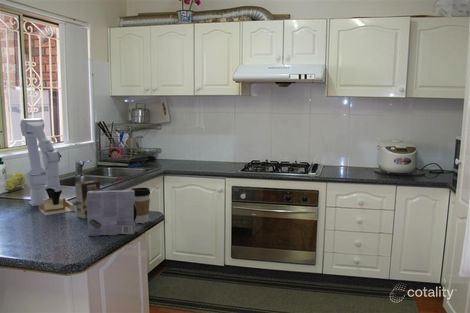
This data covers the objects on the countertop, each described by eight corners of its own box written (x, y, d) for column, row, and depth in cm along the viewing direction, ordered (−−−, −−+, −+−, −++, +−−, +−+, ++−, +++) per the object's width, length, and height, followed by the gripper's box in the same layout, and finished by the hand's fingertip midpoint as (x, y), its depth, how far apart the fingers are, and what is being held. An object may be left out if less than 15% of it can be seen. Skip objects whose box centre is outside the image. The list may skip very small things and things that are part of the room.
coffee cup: (128, 221, 181) (126, 188, 179) (144, 217, 187) (143, 185, 185) (138, 225, 175) (137, 191, 173) (155, 221, 181) (154, 188, 179)
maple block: (43, 208, 199) (43, 199, 198) (62, 205, 204) (62, 196, 204) (46, 210, 195) (45, 201, 194) (65, 207, 200) (65, 198, 200)
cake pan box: (138, 230, 169) (136, 188, 167) (137, 234, 164) (135, 191, 162) (89, 233, 166) (87, 190, 164) (87, 237, 161) (84, 193, 159)
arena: (39, 210, 201) (38, 204, 200) (66, 205, 209) (66, 200, 208) (45, 215, 191) (45, 209, 191) (74, 210, 199) (73, 204, 199)
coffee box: (83, 219, 185) (81, 184, 183) (76, 216, 189) (74, 182, 187) (101, 214, 192) (100, 181, 190) (94, 212, 196) (92, 179, 194)
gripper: (39, 174, 201) (41, 201, 203) (47, 179, 189) (49, 207, 191) (55, 173, 205) (56, 199, 207) (63, 177, 194) (65, 205, 195)
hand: (54, 203), depth 199 cm, fingers closed on maple block, 5 cm apart
